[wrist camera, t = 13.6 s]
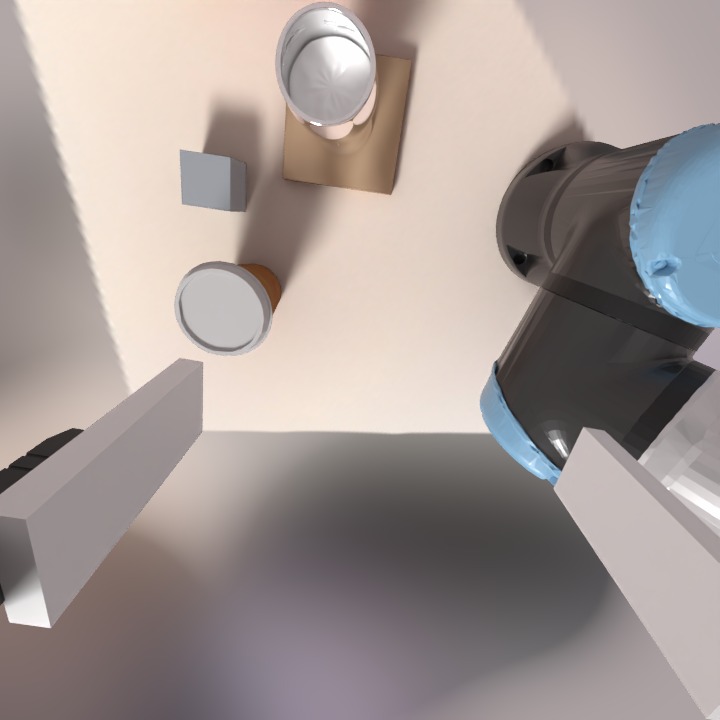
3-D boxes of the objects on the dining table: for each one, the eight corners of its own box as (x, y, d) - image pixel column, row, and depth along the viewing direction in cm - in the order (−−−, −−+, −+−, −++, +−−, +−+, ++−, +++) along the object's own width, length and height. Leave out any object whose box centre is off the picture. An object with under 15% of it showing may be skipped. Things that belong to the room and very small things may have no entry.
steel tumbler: (306, 83, 36) (264, 1, 22) (376, 78, 36) (377, -8, 22) (312, 161, 39) (278, 132, 25) (377, 158, 38) (380, 126, 24)
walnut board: (410, 65, 37) (412, 60, 35) (390, 194, 41) (391, 194, 40) (292, 47, 36) (289, 40, 35) (285, 179, 41) (282, 178, 39)
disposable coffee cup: (305, 313, 47) (284, 344, 35) (238, 334, 48) (198, 371, 37) (275, 239, 43) (242, 248, 32) (205, 265, 45) (150, 282, 34)
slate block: (246, 163, 40) (230, 157, 36) (245, 211, 42) (230, 211, 38) (201, 156, 40) (179, 149, 36) (202, 205, 42) (182, 204, 38)
